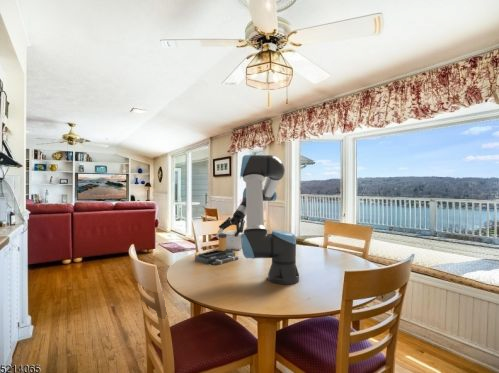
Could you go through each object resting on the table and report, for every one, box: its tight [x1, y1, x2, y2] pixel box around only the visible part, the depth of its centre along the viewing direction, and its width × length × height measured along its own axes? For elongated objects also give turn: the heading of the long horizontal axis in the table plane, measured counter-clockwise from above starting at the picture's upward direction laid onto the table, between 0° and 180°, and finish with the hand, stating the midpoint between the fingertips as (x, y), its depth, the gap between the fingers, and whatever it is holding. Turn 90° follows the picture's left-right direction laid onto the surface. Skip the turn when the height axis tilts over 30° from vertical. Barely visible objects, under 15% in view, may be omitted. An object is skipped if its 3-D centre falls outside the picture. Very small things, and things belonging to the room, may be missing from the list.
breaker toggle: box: [216, 233, 227, 253], centre depth 176 cm, size 4×4×11 cm
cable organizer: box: [223, 230, 244, 251], centre depth 201 cm, size 15×11×12 cm
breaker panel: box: [194, 249, 236, 265], centre depth 172 cm, size 22×12×4 cm, turn 138°
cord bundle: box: [210, 255, 239, 266], centre depth 166 cm, size 18×5×2 cm, turn 138°
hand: (224, 238), depth 177 cm, fingers open, 13 cm apart
